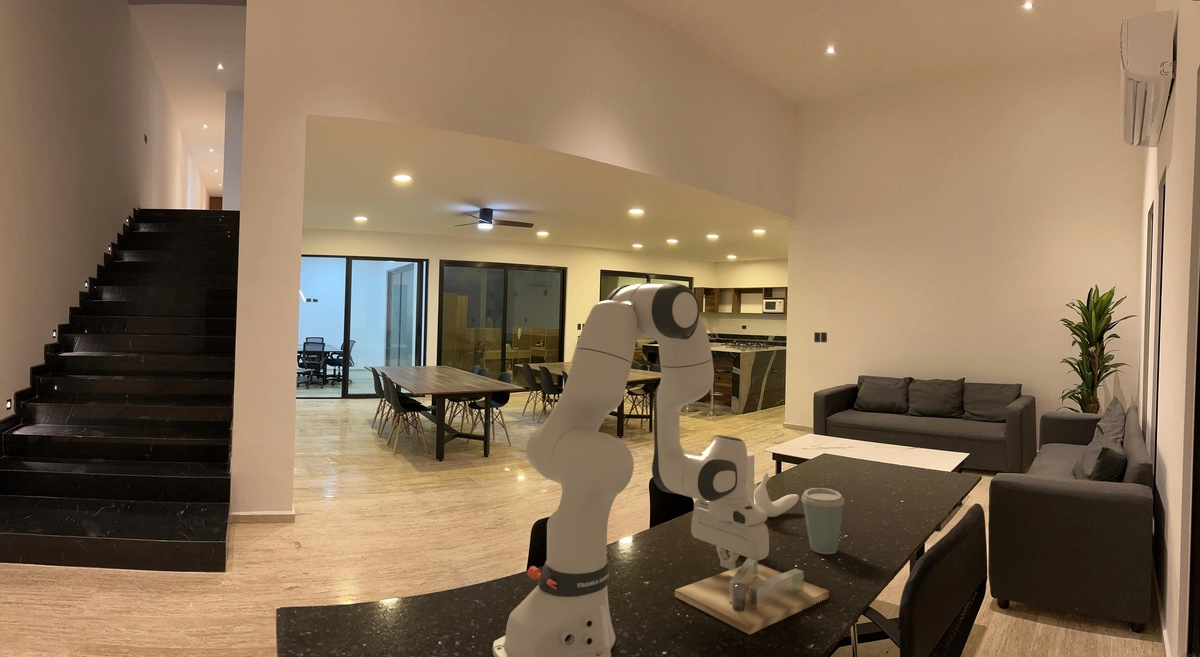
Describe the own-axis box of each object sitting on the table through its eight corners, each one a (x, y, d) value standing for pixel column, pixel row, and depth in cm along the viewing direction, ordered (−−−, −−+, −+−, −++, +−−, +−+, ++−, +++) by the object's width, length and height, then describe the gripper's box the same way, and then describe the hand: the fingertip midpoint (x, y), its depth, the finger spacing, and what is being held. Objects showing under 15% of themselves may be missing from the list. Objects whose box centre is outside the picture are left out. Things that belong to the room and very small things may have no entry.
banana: (799, 512, 190) (800, 465, 190) (764, 524, 178) (764, 474, 178) (786, 508, 194) (786, 462, 194) (750, 520, 181) (750, 471, 181)
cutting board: (749, 634, 114) (749, 626, 114) (674, 596, 130) (674, 589, 130) (828, 597, 129) (828, 590, 129) (753, 568, 145) (753, 561, 145)
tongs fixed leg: (756, 610, 120) (756, 589, 120) (748, 606, 122) (748, 586, 122) (803, 590, 130) (803, 571, 130) (795, 586, 131) (795, 568, 131)
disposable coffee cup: (848, 559, 151) (848, 499, 151) (803, 556, 153) (803, 496, 153) (840, 544, 162) (840, 488, 162) (798, 541, 164) (798, 486, 164)
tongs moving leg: (743, 612, 119) (743, 588, 119) (724, 608, 121) (724, 585, 121) (765, 577, 136) (765, 556, 136) (748, 573, 138) (748, 553, 138)
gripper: (685, 498, 144) (685, 556, 144) (755, 520, 128) (754, 586, 128) (703, 494, 148) (703, 551, 148) (773, 515, 132) (773, 578, 132)
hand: (727, 567), depth 138 cm, fingers closed
